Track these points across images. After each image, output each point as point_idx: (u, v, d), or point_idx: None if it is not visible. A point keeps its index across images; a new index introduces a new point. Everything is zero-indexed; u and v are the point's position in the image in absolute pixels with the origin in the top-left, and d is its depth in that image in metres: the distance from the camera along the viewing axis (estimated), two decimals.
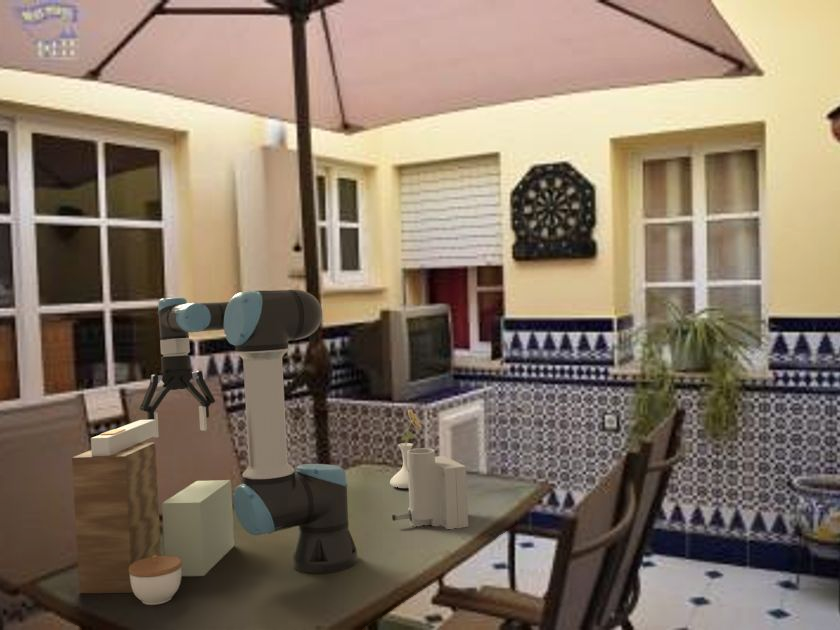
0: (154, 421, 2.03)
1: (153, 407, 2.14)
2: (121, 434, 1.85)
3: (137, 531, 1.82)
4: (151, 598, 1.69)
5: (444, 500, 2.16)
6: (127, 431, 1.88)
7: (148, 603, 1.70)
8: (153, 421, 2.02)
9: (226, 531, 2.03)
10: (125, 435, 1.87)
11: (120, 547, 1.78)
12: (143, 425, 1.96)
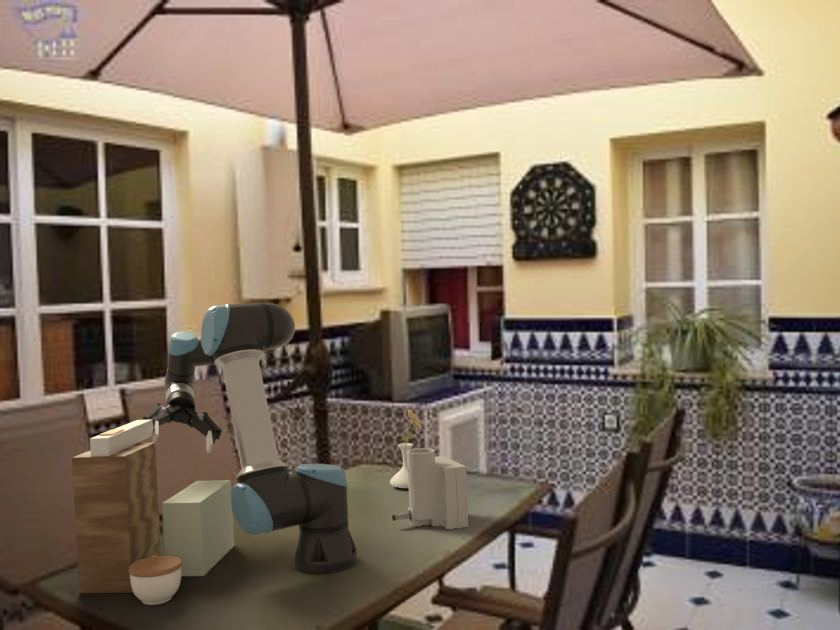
0: (151, 421, 2.02)
1: (154, 418, 2.07)
2: (120, 434, 1.84)
3: (137, 531, 1.82)
4: (151, 598, 1.69)
5: (444, 500, 2.16)
6: (125, 431, 1.87)
7: (148, 603, 1.70)
8: (150, 421, 2.02)
9: (226, 531, 2.03)
10: (123, 436, 1.86)
11: (120, 547, 1.78)
12: (141, 425, 1.96)
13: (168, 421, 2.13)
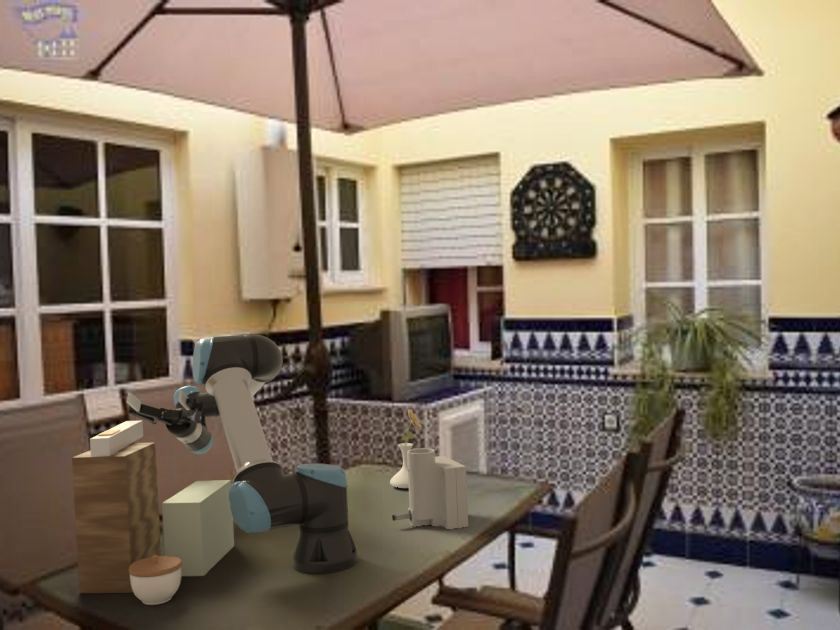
0: (141, 422, 2.02)
1: None
2: (118, 434, 1.84)
3: (137, 531, 1.82)
4: (151, 598, 1.69)
5: (444, 500, 2.16)
6: (122, 432, 1.87)
7: (148, 603, 1.70)
8: (141, 422, 2.02)
9: (226, 531, 2.03)
10: (120, 436, 1.86)
11: (120, 547, 1.78)
12: (133, 426, 1.96)
13: (159, 417, 2.18)
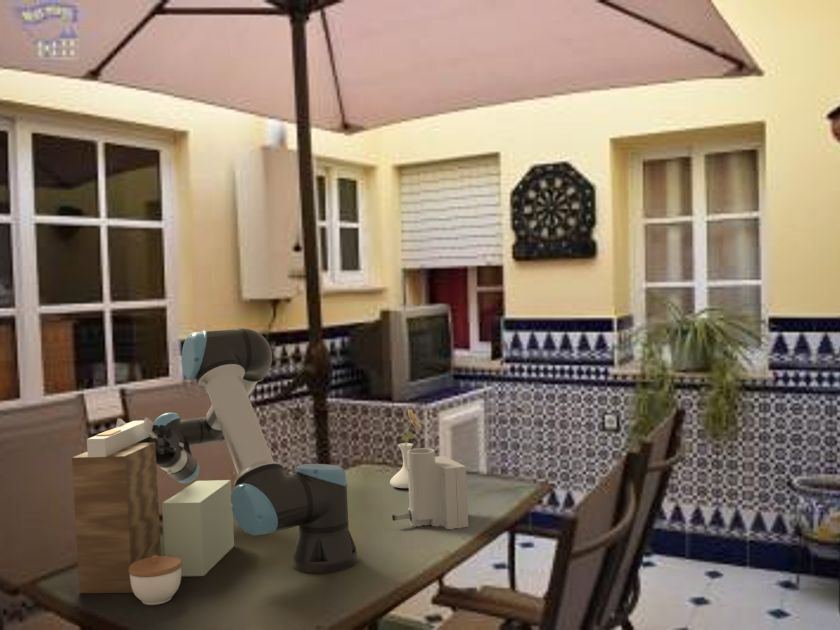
0: None
1: None
2: (117, 435, 1.84)
3: (137, 531, 1.82)
4: (151, 598, 1.69)
5: (444, 500, 2.16)
6: (122, 432, 1.87)
7: (148, 603, 1.70)
8: None
9: (226, 531, 2.03)
10: (120, 436, 1.86)
11: (120, 547, 1.78)
12: (138, 426, 1.95)
13: None
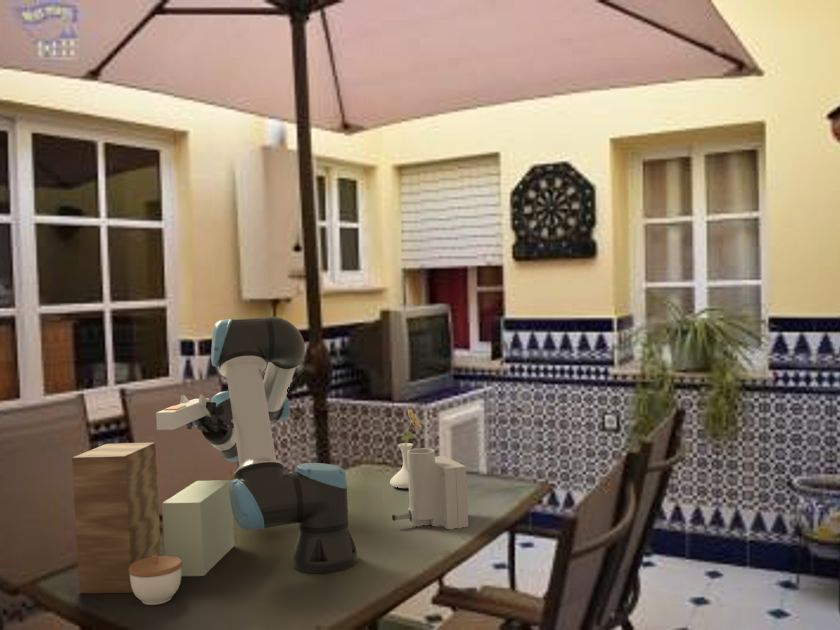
0: (208, 400, 2.11)
1: None
2: (183, 410, 1.93)
3: (137, 531, 1.82)
4: (151, 598, 1.69)
5: (444, 500, 2.16)
6: (187, 407, 1.96)
7: (148, 603, 1.70)
8: (208, 400, 2.10)
9: (226, 531, 2.03)
10: (186, 411, 1.95)
11: (120, 547, 1.78)
12: None
13: (202, 423, 2.15)
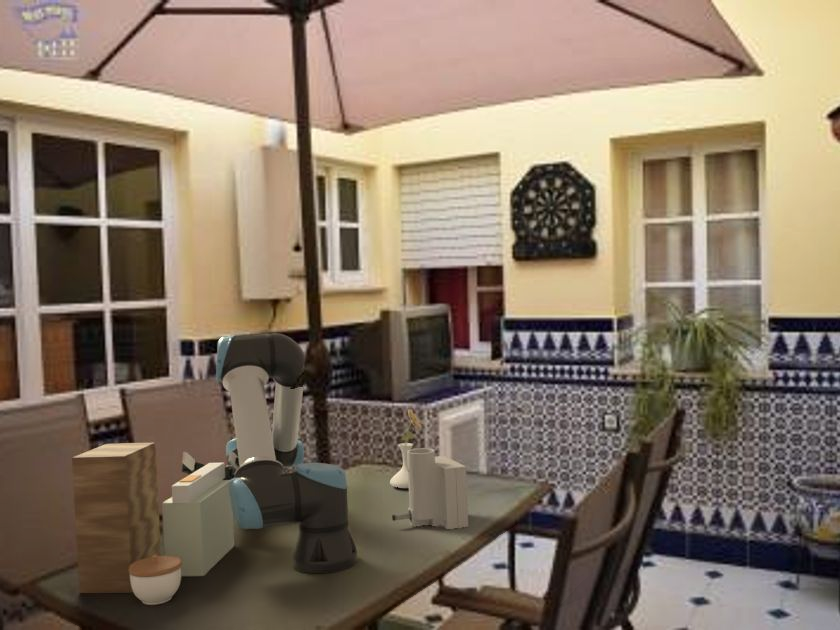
0: (223, 464, 2.11)
1: None
2: (198, 480, 1.93)
3: (137, 531, 1.82)
4: (151, 598, 1.69)
5: (444, 500, 2.16)
6: (203, 477, 1.96)
7: (148, 603, 1.70)
8: (222, 464, 2.10)
9: (226, 531, 2.03)
10: (201, 481, 1.94)
11: (120, 547, 1.78)
12: (215, 469, 2.04)
13: None
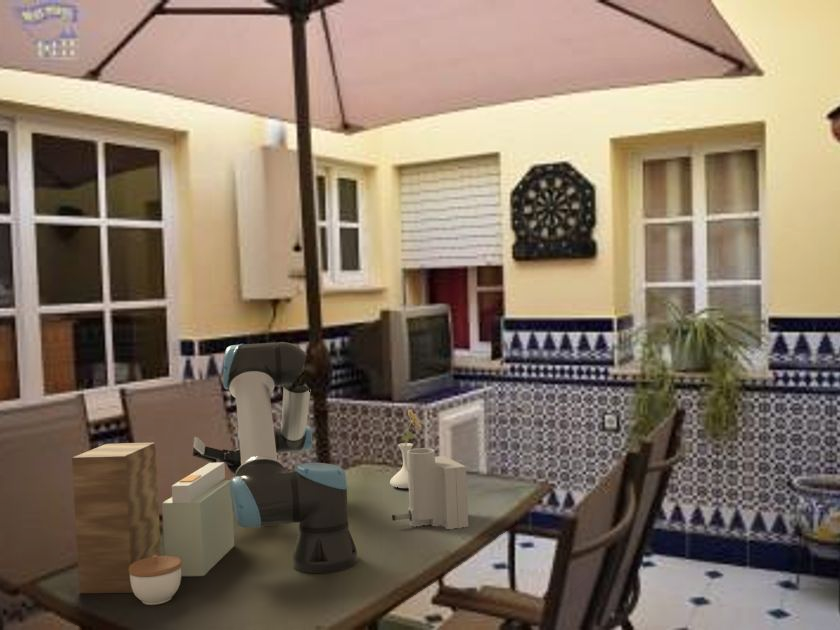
0: (223, 464, 2.11)
1: None
2: (198, 480, 1.93)
3: (137, 531, 1.82)
4: (151, 598, 1.69)
5: (444, 500, 2.16)
6: (203, 477, 1.96)
7: (148, 603, 1.70)
8: (222, 464, 2.10)
9: (226, 531, 2.03)
10: (201, 481, 1.94)
11: (120, 547, 1.78)
12: (215, 469, 2.04)
13: (222, 458, 2.25)
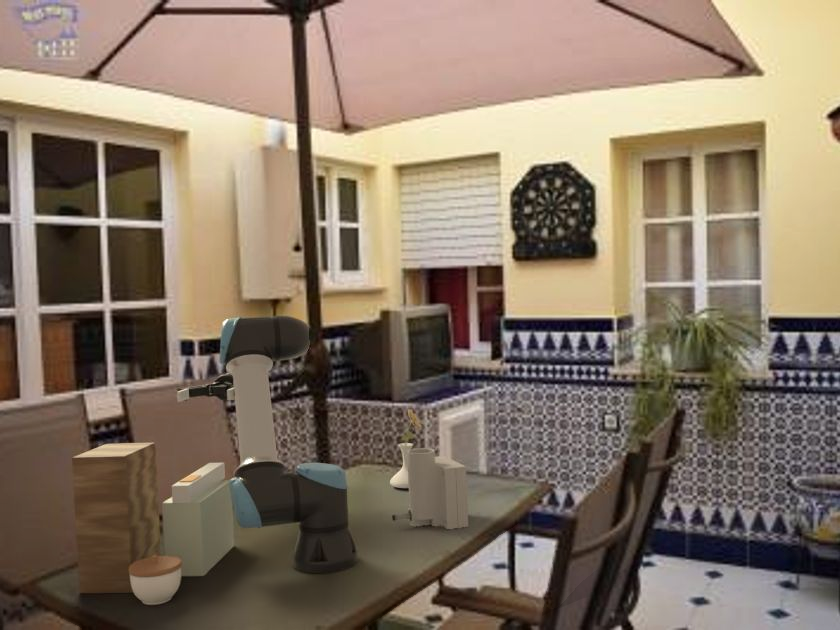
0: (223, 464, 2.11)
1: (187, 388, 2.24)
2: (198, 480, 1.93)
3: (137, 531, 1.82)
4: (151, 598, 1.69)
5: (444, 500, 2.16)
6: (203, 477, 1.96)
7: (148, 603, 1.70)
8: (222, 464, 2.10)
9: (226, 531, 2.03)
10: (201, 481, 1.94)
11: (120, 547, 1.78)
12: (215, 469, 2.04)
13: (207, 394, 2.27)
